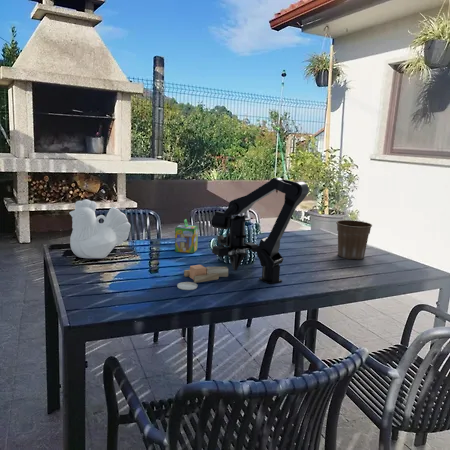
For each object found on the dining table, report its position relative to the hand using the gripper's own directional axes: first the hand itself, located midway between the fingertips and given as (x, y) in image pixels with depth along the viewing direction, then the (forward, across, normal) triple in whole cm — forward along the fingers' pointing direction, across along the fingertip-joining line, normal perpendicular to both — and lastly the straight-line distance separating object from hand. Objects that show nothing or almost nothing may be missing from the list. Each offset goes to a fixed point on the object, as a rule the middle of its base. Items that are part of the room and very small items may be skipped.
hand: (234, 270), depth 168 cm
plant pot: (+1, -66, +1) cm, 66 cm away
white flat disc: (+1, +25, +7) cm, 26 cm away
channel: (+1, +15, 0) cm, 15 cm away
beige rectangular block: (+1, +8, 0) cm, 8 cm away
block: (+1, +17, 0) cm, 17 cm away
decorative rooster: (+1, +40, -42) cm, 58 cm away
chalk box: (+1, +1, -39) cm, 39 cm away
